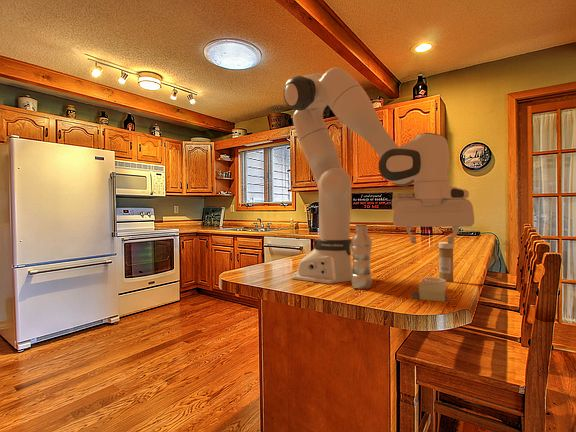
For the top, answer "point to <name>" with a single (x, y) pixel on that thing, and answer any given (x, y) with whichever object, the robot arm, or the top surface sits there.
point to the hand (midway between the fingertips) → (431, 243)
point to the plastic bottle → (361, 258)
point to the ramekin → (434, 281)
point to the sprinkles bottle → (446, 261)
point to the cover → (431, 292)
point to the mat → (416, 296)
